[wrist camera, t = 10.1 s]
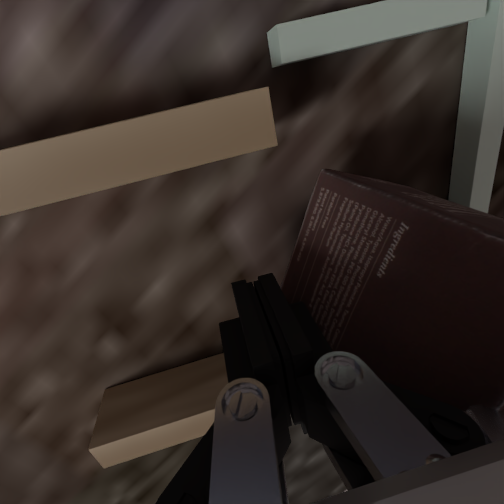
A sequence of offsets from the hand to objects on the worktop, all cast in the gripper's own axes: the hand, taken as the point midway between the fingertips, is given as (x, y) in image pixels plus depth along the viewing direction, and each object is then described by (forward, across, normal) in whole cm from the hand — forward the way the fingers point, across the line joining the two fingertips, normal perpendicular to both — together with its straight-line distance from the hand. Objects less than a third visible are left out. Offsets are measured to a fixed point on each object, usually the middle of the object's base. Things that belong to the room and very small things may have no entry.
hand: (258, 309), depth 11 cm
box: (+2, -4, -1) cm, 5 cm away
